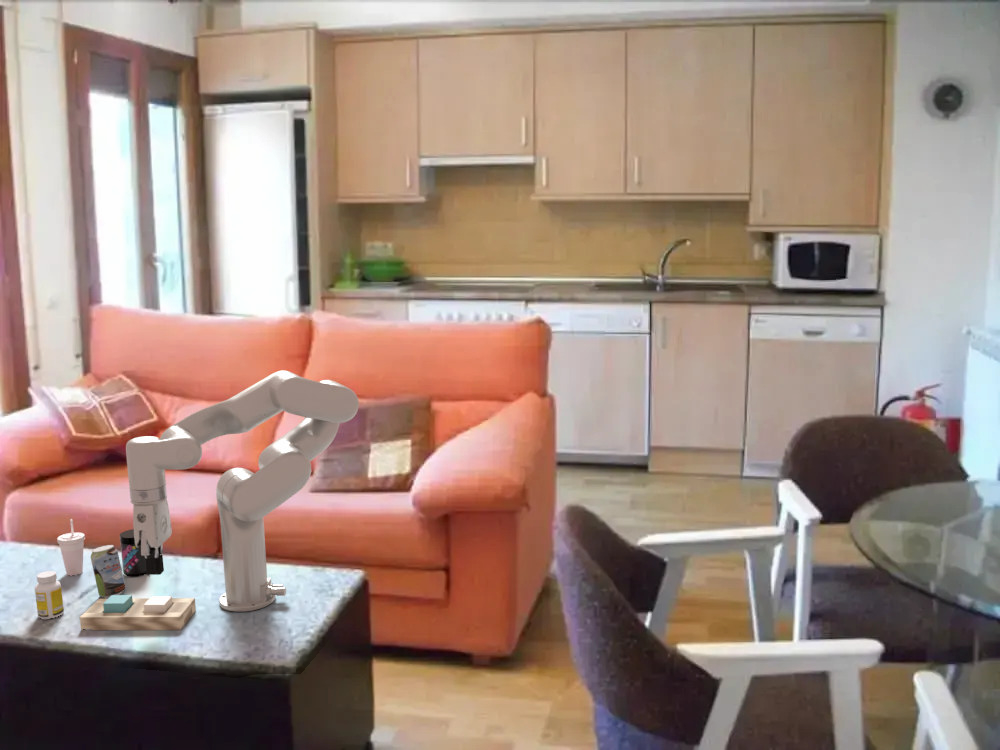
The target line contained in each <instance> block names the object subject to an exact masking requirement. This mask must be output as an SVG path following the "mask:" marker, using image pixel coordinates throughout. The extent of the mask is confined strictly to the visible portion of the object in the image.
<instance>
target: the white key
mask: <svg viewBox="0 0 1000 750" xmlns="http://www.w3.org/2000/svg"><path fill="white" fill-rule="evenodd" d="M172 598H173V596H167V595H165V596H164V595H163V596H161V595H158V596H156V595H154V596H153V595H151V596H150V599H149V600H148V601H147V602H146V603H145V604H144V613H163V612H167V611H168V610H169V608H170V607H171V606H172Z"/></svg>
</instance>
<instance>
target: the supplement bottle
mask: <svg viewBox="0 0 1000 750" xmlns="http://www.w3.org/2000/svg"><path fill="white" fill-rule="evenodd" d="M36 581H37V584H36V585H35V587H34V593H35V602H36V610H37V616H38V618H39V619H40V618H41V620H51V619H50V618H53V619H55V617H56V618H58V616H59V617H61V616H63V614H64V613H65V610H64V609H65V608H64V600H63V592H62V585H61V582H60V581H59V580H57V572H56V571H55V570H47V571H43V572H40V573H38V574H37V575H36ZM60 615H61V616H60Z"/></svg>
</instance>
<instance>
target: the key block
mask: <svg viewBox="0 0 1000 750" xmlns="http://www.w3.org/2000/svg"><path fill="white" fill-rule="evenodd" d="M107 599H108V598H98V599H97V600H96V601H95V602H94V603H93V604H92V605H91V606H90V607H89V608H88V609H87V610H86V611H85V612H84V613H83V614H81V615H80V617H79V623H80V630H81V631H84V630H83V629H92V630H91V631H150V630H151V631H171V630H172V631H174V630H175V631H177V630H178V631H181V630H182V628H184V627H185V625H186V624H187V622H188V621H189V620H190V619H191V617H192V616H193V615H194V614H195V612H196V611H197V608H196V598H195V597H183V598H182V597H179V598H177V597H176V598H173V597H172V606H171V607H170V608H169V610H168V611H167V612H163V613H144V604H145V603H146V602H147V601H148V600H149V599H150V598H149V597H146V598H145V597H144V598H143V597H141V598H135V597H134V598H133V597H132V600H133V605H132V607H131V608H130V609H129V610H128V611H127V612H126V613H104V607H103V603H104V602H105V601H106V600H107Z"/></svg>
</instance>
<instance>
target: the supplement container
mask: <svg viewBox="0 0 1000 750" xmlns="http://www.w3.org/2000/svg"><path fill="white" fill-rule="evenodd" d="M119 542H120V552H121V553H120V554H121V561H122V564H121V565H122V573H123V576H125V577H128V578H129V577H130V578H138V577H139V578H140V577H143V576H146V575H148V574H147V568H146V558H145V556H142V555H141V548H137V547H136V545H135V539H134V528H132V529H128V530H124V531H122V532H121V533H120V534H119Z"/></svg>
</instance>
